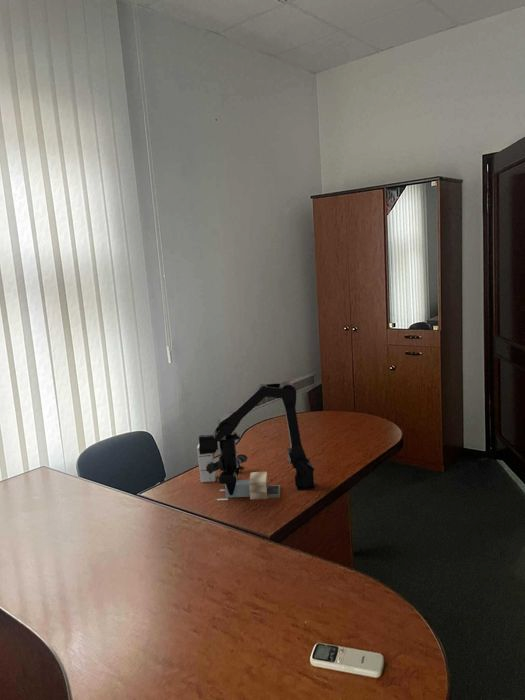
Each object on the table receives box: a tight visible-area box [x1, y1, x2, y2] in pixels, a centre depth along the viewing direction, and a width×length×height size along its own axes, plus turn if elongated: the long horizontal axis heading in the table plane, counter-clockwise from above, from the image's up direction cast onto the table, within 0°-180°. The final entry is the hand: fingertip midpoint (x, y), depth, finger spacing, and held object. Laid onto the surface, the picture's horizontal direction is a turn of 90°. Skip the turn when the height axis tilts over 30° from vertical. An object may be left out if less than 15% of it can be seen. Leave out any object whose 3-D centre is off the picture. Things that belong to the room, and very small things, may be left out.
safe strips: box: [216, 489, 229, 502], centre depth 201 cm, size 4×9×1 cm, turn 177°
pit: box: [267, 484, 281, 499], centre depth 200 cm, size 5×9×1 cm, turn 177°
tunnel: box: [248, 471, 269, 500], centre depth 200 cm, size 6×10×6 cm, turn 177°
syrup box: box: [196, 444, 217, 483], centre depth 216 cm, size 6×6×14 cm
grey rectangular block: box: [224, 479, 250, 499], centre depth 200 cm, size 14×4×5 cm, turn 87°
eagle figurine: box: [237, 454, 248, 473], centre depth 224 cm, size 8×7×9 cm
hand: (231, 492), depth 201 cm, fingers closed on grey rectangular block, 4 cm apart
